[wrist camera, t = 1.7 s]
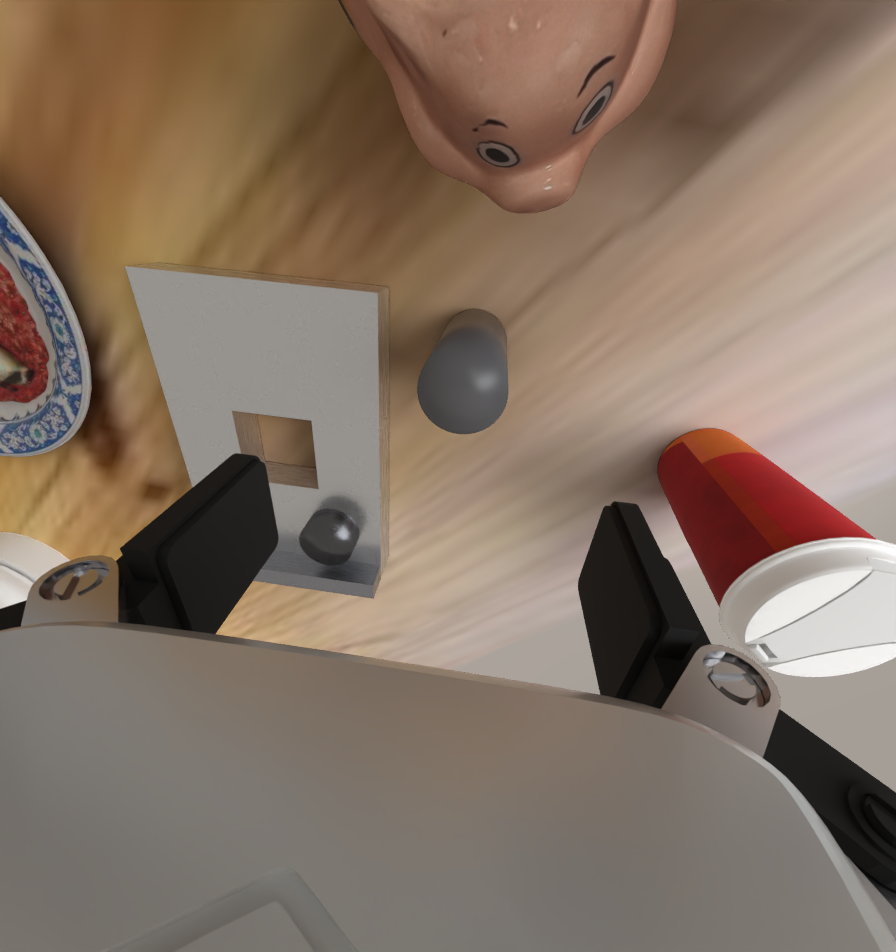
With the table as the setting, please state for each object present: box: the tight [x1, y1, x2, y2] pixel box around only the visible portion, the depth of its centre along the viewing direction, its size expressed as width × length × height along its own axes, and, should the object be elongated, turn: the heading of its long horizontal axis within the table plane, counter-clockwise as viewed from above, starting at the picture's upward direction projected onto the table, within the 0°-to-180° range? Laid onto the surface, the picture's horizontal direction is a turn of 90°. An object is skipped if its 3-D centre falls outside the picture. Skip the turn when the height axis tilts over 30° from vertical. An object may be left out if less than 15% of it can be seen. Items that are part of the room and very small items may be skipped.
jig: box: [125, 263, 390, 599], centre depth 31 cm, size 24×16×5 cm, turn 175°
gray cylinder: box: [417, 309, 508, 434], centre depth 24 cm, size 4×4×10 cm
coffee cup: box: [657, 428, 896, 677], centre depth 24 cm, size 8×8×15 cm
